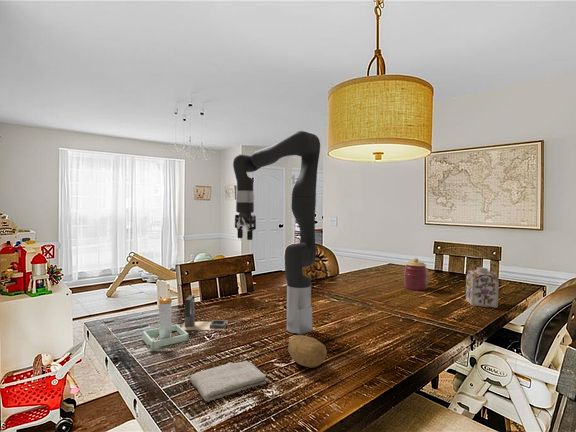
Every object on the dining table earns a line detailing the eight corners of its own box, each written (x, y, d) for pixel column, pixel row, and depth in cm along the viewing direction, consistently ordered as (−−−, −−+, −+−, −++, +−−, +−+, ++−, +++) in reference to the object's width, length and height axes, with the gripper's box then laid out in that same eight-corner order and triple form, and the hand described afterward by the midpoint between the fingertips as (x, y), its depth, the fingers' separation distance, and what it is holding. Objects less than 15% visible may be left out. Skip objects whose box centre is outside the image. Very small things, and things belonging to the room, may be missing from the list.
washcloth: (269, 384, 92) (269, 373, 92) (205, 405, 82) (205, 393, 82) (248, 367, 102) (248, 356, 102) (189, 384, 92) (189, 372, 92)
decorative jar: (471, 306, 166) (472, 269, 166) (465, 299, 177) (465, 265, 177) (498, 308, 163) (500, 270, 163) (490, 301, 175) (491, 266, 174)
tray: (188, 342, 118) (188, 334, 118) (152, 351, 111) (152, 342, 111) (176, 332, 128) (176, 324, 128) (142, 339, 121) (142, 330, 121)
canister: (429, 287, 204) (429, 257, 204) (424, 291, 193) (425, 260, 193) (406, 284, 211) (407, 255, 211) (401, 288, 200) (401, 258, 200)
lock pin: (172, 336, 122) (172, 297, 122) (170, 341, 118) (170, 300, 118) (160, 337, 121) (160, 298, 121) (158, 341, 117) (158, 301, 117)
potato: (303, 352, 112) (304, 328, 111) (334, 369, 100) (334, 342, 100) (279, 360, 106) (279, 334, 106) (309, 378, 95) (309, 350, 94)
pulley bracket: (227, 324, 137) (228, 294, 137) (224, 332, 128) (224, 300, 128) (185, 324, 137) (185, 294, 136) (178, 332, 128) (178, 300, 127)
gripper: (229, 201, 152) (229, 238, 152) (245, 201, 140) (245, 240, 141) (244, 201, 156) (244, 237, 157) (261, 201, 145) (260, 240, 145)
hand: (244, 239), depth 149 cm, fingers open, 8 cm apart
